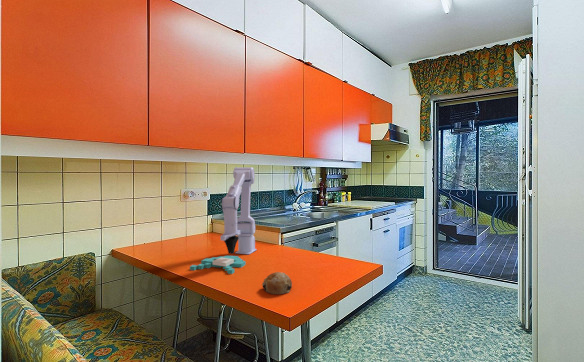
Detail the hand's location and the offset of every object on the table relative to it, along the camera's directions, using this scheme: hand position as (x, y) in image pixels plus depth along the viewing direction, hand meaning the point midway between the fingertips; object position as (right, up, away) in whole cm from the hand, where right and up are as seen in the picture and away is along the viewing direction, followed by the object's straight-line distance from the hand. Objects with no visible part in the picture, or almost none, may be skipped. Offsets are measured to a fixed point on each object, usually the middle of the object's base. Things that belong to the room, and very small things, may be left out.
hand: (231, 253), depth 143 cm
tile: (-2, -3, 0) cm, 4 cm away
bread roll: (+22, -7, -29) cm, 37 cm away
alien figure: (-4, -6, +1) cm, 8 cm away
